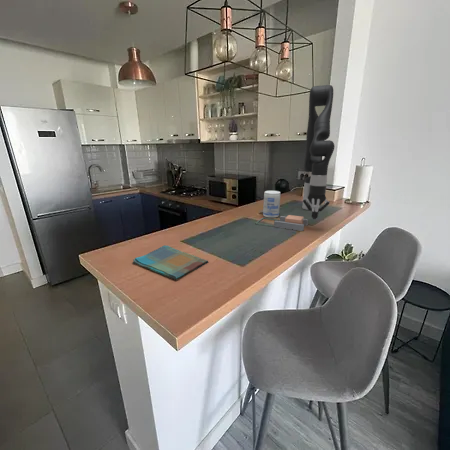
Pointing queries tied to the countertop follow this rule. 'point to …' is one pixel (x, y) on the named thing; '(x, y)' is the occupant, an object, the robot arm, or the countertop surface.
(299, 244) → the countertop surface
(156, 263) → the dish towel
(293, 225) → the chute
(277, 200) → the supplement tub
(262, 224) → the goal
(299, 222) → the block
